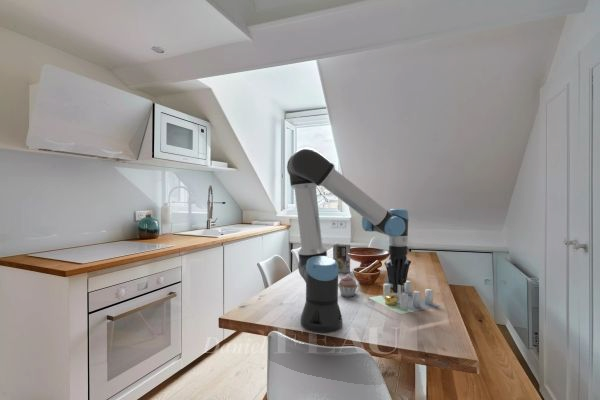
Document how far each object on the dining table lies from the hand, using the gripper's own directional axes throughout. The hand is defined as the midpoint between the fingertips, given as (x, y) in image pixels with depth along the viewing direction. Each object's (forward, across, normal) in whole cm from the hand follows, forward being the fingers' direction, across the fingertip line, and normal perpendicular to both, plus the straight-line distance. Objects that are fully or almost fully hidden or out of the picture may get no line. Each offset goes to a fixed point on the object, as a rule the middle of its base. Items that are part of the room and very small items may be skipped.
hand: (397, 299), depth 128 cm
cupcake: (+3, -12, +19) cm, 23 cm away
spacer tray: (+2, +4, 0) cm, 4 cm away
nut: (+1, -3, 0) cm, 3 cm away
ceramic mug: (+3, +16, +17) cm, 24 cm away
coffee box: (+3, +9, +57) cm, 58 cm away
